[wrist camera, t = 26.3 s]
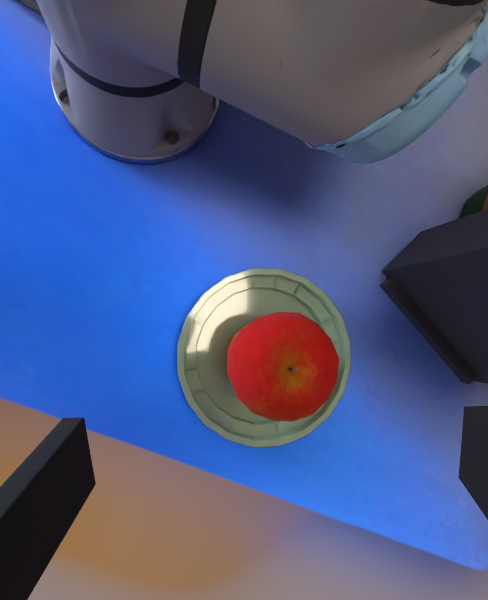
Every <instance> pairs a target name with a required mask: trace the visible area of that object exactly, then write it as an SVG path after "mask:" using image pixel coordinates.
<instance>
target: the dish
mask: <svg viewBox="0 0 488 600" xmlns="http://www.w3.org/2000/svg"><path fill="white" fill-rule="evenodd" d="M276 312H297V313H301V314H303V315H304V316H306V317H308V318H309V319H311V320H313V321H315V322H316V323H318V324H319V326H320V327H321V328H322V329H323V330H324V331H325V333H326V334H327V335H328V336H329V337H330V338H331V340H332V342H333V345H334V347H335V349H336V352H337V354H338V356H339V367H338V376H337V382H336V384H335V386H334V388H333V390H332V392H331V394H330V396H329V398H328V399H327V401H326V402H325V403H324V404H323V405H322V406H321V407H320V408H319V409H318V410H317V411H316V412H315V413H314V414H313V415H311V416H308V417H305V418H302V419H300V420H297V421H294V422H288V421H272V420H269V419H267V418H264V417H262V416H259V415H256V414H254V413H252V412H251V411H250V410H249V409H248V408H247V407H246V406H245V405H244V404H243V403H242V402H241V401H240V400H239V399H238V398H237V395H236V393H235V391H234V388H233V386H232V383H231V381H230V379H229V376H228V374H227V366H228V365H227V348H228V346H229V343H230V341H231V339H232V337H233V335H234V334H235V333H236V332H237V331H239V330H240V329H241V328H242V327H243V326H245V325H246V324H249V323H251V322H253V321H254V320H256V319H257V318H258V317H262V316H265V315H269V314H272V313H276ZM350 369H351V355H350V339H349V336H348V333H347V330H346V327H345V323H344V320H343V317H342V315H341V313H340V312H339V311H338V309H337V308H336V306H335V305H334V304H333V302H332V301H331V299H330V298H329V296H328V295H327V294H326V293H325V292H324V291H322V290H321V289H320V288H318V287H317V286H316V285H314V284H313V283H312V282H310V281H309V280H308V279H307V278H305V277H302V276H299V275H297V274H294V273H291V272H288V271H285V270H282V269H261V268H253V269H249V270H246V271H243V272H240V273H237V274H233V275H230V276H227V277H225V278H224V279H223V280H221V281H220V282H218V283H217V284H216V285H214V286H213V287H212V288H210V289H209V290H207V291H206V292H205V293H203V294H202V295H201V296H200V298H199V299H198V301H197V302H196V303H195V305H194V306H193V307H192V309H191V310H190V312H189V313H188V314H187V316H186V318H185V321H184V324H183V327H182V330H181V333H180V336H179V339H178V343H177V373H178V377H179V380H180V383H181V386H182V389H183V392H184V395H185V398H186V401H187V402H188V404H189V405H190V406H191V408H192V409H193V410H194V412H195V413H196V414H197V416H198V417H199V418H200V420H201V421H202V422H203V424H204V425H206V426H207V427H209V428H210V429H211V430H213V431H214V432H216V433H217V434H219V435H220V436H222V437H223V438H225V439H226V440H228V441H232V442H236V443H239V444H243V445H247V446H251V447H270V446H282V445H285V444H287V443H290V442H292V441H295V440H297V439H300V438H302V437H305V436H307V435H308V434H310V433H311V432H312V431H313V430H314V429H316V428H317V427H318V426H319V425H320V424H322V423H323V422H324V421H325V420H326V419H327V418H328V417H329V416H330V415H331V413H332V411H333V410H334V408H335V407H336V405H337V404H338V402H339V401H340V399H341V397H342V396H343V394H344V390H345V387H346V383H347V380H348V376H349V373H350Z"/></svg>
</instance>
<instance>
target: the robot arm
mask: <svg viewBox="0 0 488 600" xmlns="http://www.w3.org/2000/svg"><path fill="white" fill-rule="evenodd" d="M18 1H19V2H21V3H23V4H24V5H26V6H27V7H29V8H31V9H32V10H34V11H36V12H37V13H39V14H41V15H42V16H43V19H44V21H45V23H46V25H47V27H48V29H49V32H50V34H51V49H50V76H51V82H52V87H53V91H54V94H55V97H56V100H57V102H58V104H59V106H60V109H61V110H62V112H63V114H64V116H65V118H66V119H67V121H68V123H69V124H70V125H71V127H72V128H73V130H74V131H75V132H76V133H77V134H78V135H79V136H80V137H81V138H82V139H83V140H84V141H85V142H86V143H87V144H89V145H90V146H91V147H93V148H94V149H96V150H97V151H99V152H101V153H103V154H105V155H106V156H109V157H111V158H114V159H117V160H120V161H123V162H128V163H135V164H155V163H161V162H165V161H169V160H172V159H174V158H177V157H179V156H181V155H183V154H185V153H186V152H188V151H189V150H191V149H192V148H193V147H195V146H196V145H197V144H198V143H199V142H200V141H201V140H202V139H203V137H204V136H205V135H206V134H207V132H208V131H209V129H210V127H211V125H212V123H213V121H214V119H215V116H216V113H217V109H218V105H219V100H222V101H224V102H226V103H228V104H230V105H232V106H234V107H236V108H238V109H240V110H242V111H244V112H246V113H248V114H250V115H252V116H254V117H256V118H258V119H260V120H262V121H264V122H266V123H268V124H270V125H272V126H274V127H276V128H278V129H280V130H282V131H284V132H286V133H289V134H291V135H293V136H295V137H297V138H299V139H301V140H303V141H304V143H305V144H306V145H307V146H309V147H311V148H312V149H317V150H319V151H328V152H330V153H332V154H334V155H337V156H339V157H341V158H344V159H346V160H348V161H351V162H354V163H355V162H356V163H373V162H376V161H380V160H383V159H385V158H387V157H389V156H391V155H393V154H395V153H397V152H399V151H400V150H402V149H403V148H405V147H406V146H408V145H409V144H410V143H411V142H413V141H414V140H415V139H417V138H418V137H419V136H420V135H421V134H423V133H424V132H425V131H426V130H427V129H428V128H429V127H430V126H431V125H432V124H433V123H434V122H436V121H437V120H438V119H439V118H440V117H441V115H442V114H443V113H444V112H445V111H446V110H447V109H448V108H449V107H450V106H451V105H452V103H453V102H454V101H455V100H456V99H457V97H458V96H459V95H460V94H461V93H462V91H463V90H464V88H465V87H466V86H467V85H466V79H467V76H469V75H470V74H471V73H472V72H473V71H474V70H475V69H477V68H478V67H479V66H480V65H482V63H483V62H484V60H485V58H486V57H487V55H488V0H18ZM459 479H460V480H461V482H462V483H463V484H464V486H465V487H466V489H467V490H468V492H469V493H470V495H471V496H472V498H473V499H474V500H475V502H476V503H477V505H478V506H479V508H480V509H481V511H482V512H483V513H484V515H485V516H486V518H487V519H488V406H474V407H464V418H463V430H462V443H461V456H460V468H459ZM95 484H96V483H95V478H94V472H93V466H92V461H91V455H90V449H89V444H88V438H87V432H86V426H85V421H84V418H63V419H62V420H61V421H60V422H59V423H58V425H57V426H56V427H55V428H54V429H53V430H52V431H51V432H50V433H49V434H48V435H47V436H46V438H45V439H44V440H43V441H42V442H41V443H40V444H39V445H38V446H37V447H36V448H35V450H34V451H33V452H32V453H31V454H30V455H29V456H28V457H27V458H26V459H25V461H24V462H23V463H22V464H21V465H20V466H19V467H18V468H17V469H16V470H15V471H14V473H13V474H12V475H11V476H10V477H9V478H8V479H7V480H6V481H5V482H4V484H3V485H2V486H1V487H0V600H27V599H28V597H29V596H30V594H31V592H32V591H33V589H34V587H35V585H36V584H37V582H38V580H39V579H40V577H41V576H42V574H43V572H44V570H45V569H46V567H47V565H48V563H49V562H50V560H51V559H52V557H53V555H54V553H55V552H56V550H57V548H58V547H59V545H60V543H61V541H62V540H63V538H64V537H65V535H66V533H67V531H68V530H69V528H70V526H71V525H72V523H73V521H74V519H75V518H76V516H77V515H78V513H79V511H80V510H81V508H82V506H83V505H84V503H85V501H86V499H87V498H88V496H89V494H90V493H91V491H92V489H93V488H94V486H95Z"/></svg>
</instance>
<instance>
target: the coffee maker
mask: <svg viewBox="0 0 488 600" xmlns="http://www.w3.org/2000/svg"><path fill="white" fill-rule="evenodd" d="M382 272H383V273H384V274H385V275H386V276H387V279H386V280H385V281H384V282H383V283H382V284H381V285H380V286H381V287H382V289H383V290H384V291H385V292H386V293H387V294H388V296H389V297H390V298H391V299H392V300H393V301H394V303H395V304H396V305H397V306H398V307H399V308H400V310H401V311H402V312H403V313H404V314H405V315H406V317H407V318H408V319H409V320H410V321H411V323H412V324H413V325H414V326H415V327H416V328H417V330H418V331H419V332H420V333H421V334H422V335H423V337H424V338H425V339H426V340H427V341H428V342H429V344H430V345H431V346H432V347H433V348H434V349H435V351H436V352H437V353H438V354H439V355H440V357H441V358H442V359H443V360H444V361H445V362H446V364H447V365H448V366H449V367H450V368H451V369H452V371H453V372H454V373H455V374H456V375H457V376H458V378H459V379H460V380H461V381H462V382H464V383H468V384H471V382H472V381H473V380H475V381H478V382H483V383H487V384H488V209H486V210H483V211H480V212H477V213H474V214H471V215H468V216H466V217H463V218H460V219H457V220H454V221H451V222H448V223H445V224H442V225H439V226H436V227H433V228H431V229H428V230H425V231H422V232H421V233H420V234H419V235H418V236H417V237H416V238H415V239H414V240H413V241H412V242H411V243H410V244H409V245H408V246H407V247H406V248H404V249H403V250H402V251H401V252H400V253H399V254H398V255H397V256H396V257H395V258H394V259H393V260H392V261H391V262H390V263H389V264H388V265H387V266H386V267H385V268H384V269H383V270H382Z"/></svg>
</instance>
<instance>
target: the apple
mask: <svg viewBox="0 0 488 600" xmlns="http://www.w3.org/2000/svg"><path fill="white" fill-rule="evenodd" d="M227 365H228V366H227V374H228V376H229V379H230V381H231V383H232V386H233V388H234V391H235V393H236V395H237V398H238V399H239V400H240V401H241V402H242V403H243V404H244V405H245V406H246V407H247V408H248V409H249V410H250V411H251V412H252V413H254V414H256V415H259V416H262V417H264V418H267V419H269V420H272V421H288V422H294V421H297V420H300V419H302V418H305V417H308V416H311V415H313V414H314V413H315V412H316V411H317V410H318V409H319V408H320V407H321V406H322V405H323V404H324V403H325V402H326V401H327V399H328V398H329V396H330V394H331V392H332V390H333V388H334V386H335V384H336V382H337V376H338V367H339V356H338V354H337V352H336V349H335V347H334V345H333V342H332V340H331V338H330V337H329V336H328V335H327V334H326V333H325V331H324V330H323V329H322V328H321V327H320V326H319V324H318V323H316V322H315V321H313V320H311V319H309V318H308V317H306V316H304V315H303V314H301V313H297V312H276V313H272V314H269V315H265V316H262V317H258V318H257V319H256V320H254V321H253V322H251V323H249V324H246V325H245V326H243V327H242V328H241V329H240V330H239V331H237V332H236V333H235V334H234V335H233V337H232V339H231V341H230V343H229V346H228V348H227Z"/></svg>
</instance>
